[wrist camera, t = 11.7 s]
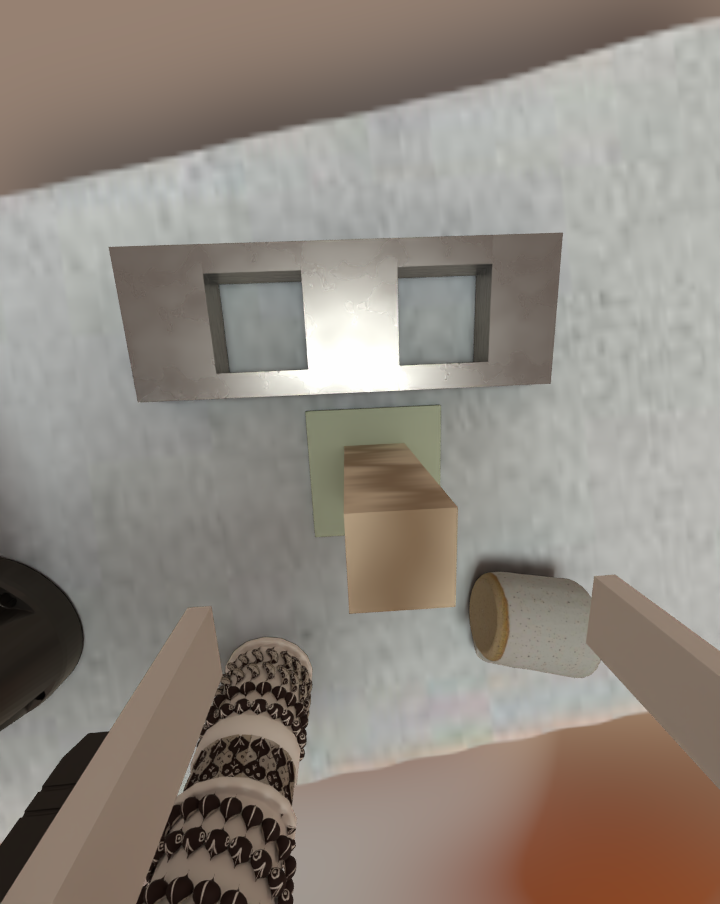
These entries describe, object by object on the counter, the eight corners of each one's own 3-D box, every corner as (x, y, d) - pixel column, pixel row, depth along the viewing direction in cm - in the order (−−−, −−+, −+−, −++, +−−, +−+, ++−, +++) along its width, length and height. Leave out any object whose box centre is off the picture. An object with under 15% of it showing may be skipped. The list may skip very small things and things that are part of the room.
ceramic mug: (474, 553, 32) (513, 610, 25) (558, 562, 33) (621, 620, 25) (452, 648, 35) (481, 726, 27) (530, 655, 35) (580, 733, 28)
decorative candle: (321, 706, 35) (271, 1453, 11) (229, 715, 35) (-31, 1500, 11) (312, 629, 33) (224, 1343, 9) (214, 638, 33) (-154, 1399, 9)
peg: (347, 502, 30) (349, 613, 16) (344, 446, 29) (343, 513, 15) (405, 499, 30) (455, 606, 16) (404, 442, 29) (457, 507, 15)
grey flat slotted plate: (159, 399, 28) (137, 402, 25) (135, 261, 25) (108, 246, 22) (529, 382, 29) (550, 383, 26) (538, 248, 26) (562, 232, 23)
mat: (315, 534, 31) (315, 537, 30) (305, 411, 28) (305, 411, 28) (438, 527, 31) (439, 529, 31) (439, 404, 29) (441, 405, 28)
